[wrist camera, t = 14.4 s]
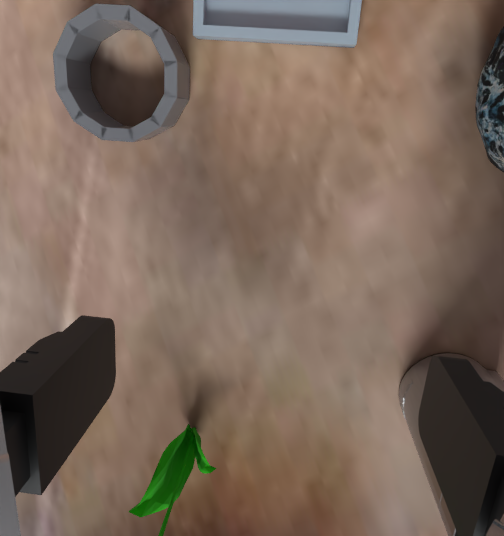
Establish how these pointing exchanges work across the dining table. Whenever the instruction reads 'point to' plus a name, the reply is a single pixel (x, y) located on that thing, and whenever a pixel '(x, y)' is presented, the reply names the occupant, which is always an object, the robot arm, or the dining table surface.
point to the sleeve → (79, 74)
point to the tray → (279, 21)
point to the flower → (172, 474)
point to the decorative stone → (492, 103)
